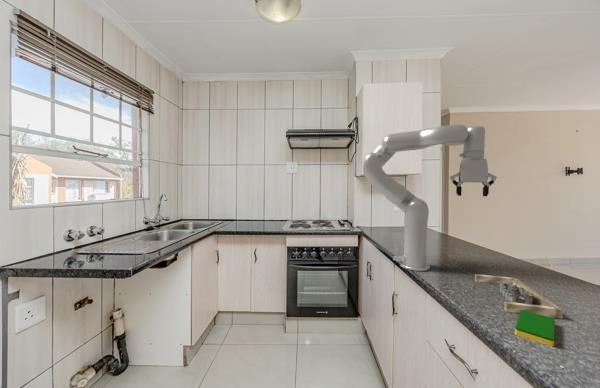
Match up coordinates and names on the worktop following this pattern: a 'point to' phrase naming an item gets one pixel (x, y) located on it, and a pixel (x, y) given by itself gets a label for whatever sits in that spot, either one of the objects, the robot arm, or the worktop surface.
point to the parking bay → (542, 308)
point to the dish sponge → (535, 327)
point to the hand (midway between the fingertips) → (471, 195)
